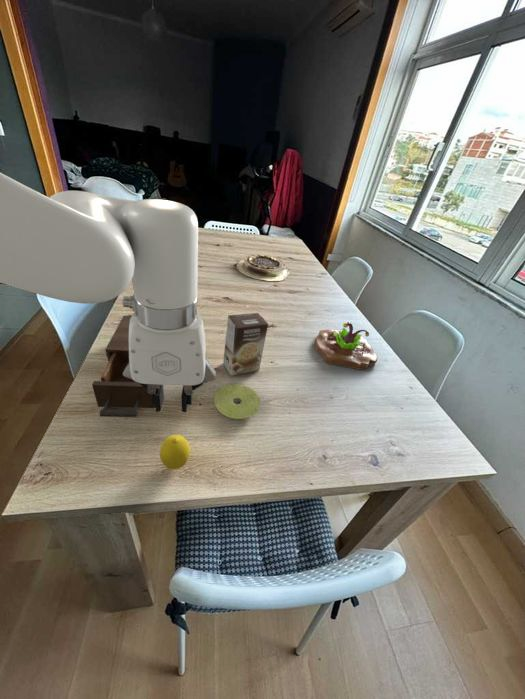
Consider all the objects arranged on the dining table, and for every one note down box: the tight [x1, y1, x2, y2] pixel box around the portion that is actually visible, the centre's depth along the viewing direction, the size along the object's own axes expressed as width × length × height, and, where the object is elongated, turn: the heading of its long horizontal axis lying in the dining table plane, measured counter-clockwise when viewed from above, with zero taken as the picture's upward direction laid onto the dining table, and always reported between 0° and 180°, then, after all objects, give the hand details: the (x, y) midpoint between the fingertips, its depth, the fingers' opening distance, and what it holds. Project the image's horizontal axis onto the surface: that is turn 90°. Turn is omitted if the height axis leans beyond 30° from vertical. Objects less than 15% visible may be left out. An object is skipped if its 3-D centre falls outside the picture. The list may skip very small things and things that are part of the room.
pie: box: [236, 253, 292, 282], centre depth 147 cm, size 28×27×5 cm
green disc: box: [213, 384, 261, 420], centre depth 72 cm, size 11×11×2 cm
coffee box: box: [222, 312, 269, 377], centre depth 80 cm, size 9×6×16 cm
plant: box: [314, 321, 378, 371], centre depth 96 cm, size 20×20×11 cm
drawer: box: [91, 353, 156, 418], centre depth 68 cm, size 20×13×7 cm, turn 6°
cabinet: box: [104, 315, 132, 363], centre depth 79 cm, size 16×14×9 cm
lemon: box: [159, 434, 191, 470], centre depth 56 cm, size 6×6×8 cm
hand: (172, 404), depth 48 cm, fingers open, 3 cm apart
